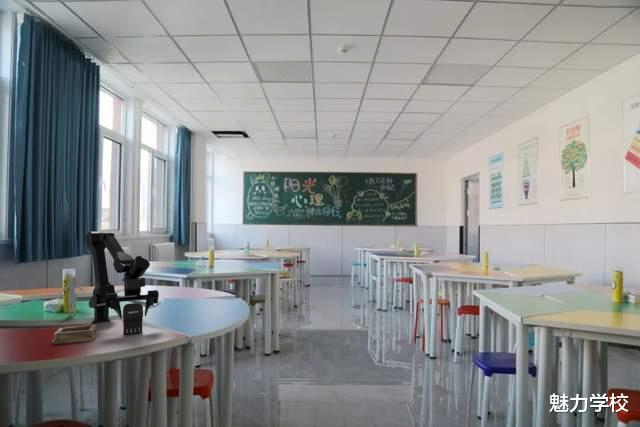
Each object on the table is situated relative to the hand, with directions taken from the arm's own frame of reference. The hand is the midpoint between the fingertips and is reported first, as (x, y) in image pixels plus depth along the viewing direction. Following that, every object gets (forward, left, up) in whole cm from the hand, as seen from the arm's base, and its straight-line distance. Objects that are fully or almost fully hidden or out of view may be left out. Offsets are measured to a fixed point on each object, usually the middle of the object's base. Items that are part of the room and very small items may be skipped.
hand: (133, 316), depth 152 cm
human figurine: (-49, -28, -7) cm, 57 cm away
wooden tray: (-2, -19, -7) cm, 20 cm away
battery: (-1, 0, -7) cm, 7 cm away
